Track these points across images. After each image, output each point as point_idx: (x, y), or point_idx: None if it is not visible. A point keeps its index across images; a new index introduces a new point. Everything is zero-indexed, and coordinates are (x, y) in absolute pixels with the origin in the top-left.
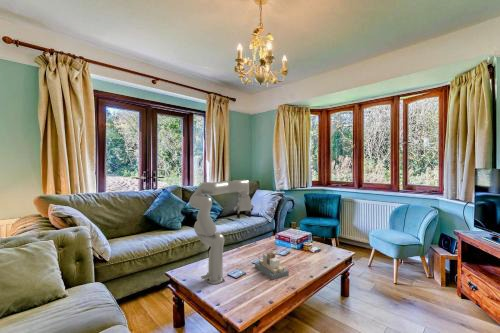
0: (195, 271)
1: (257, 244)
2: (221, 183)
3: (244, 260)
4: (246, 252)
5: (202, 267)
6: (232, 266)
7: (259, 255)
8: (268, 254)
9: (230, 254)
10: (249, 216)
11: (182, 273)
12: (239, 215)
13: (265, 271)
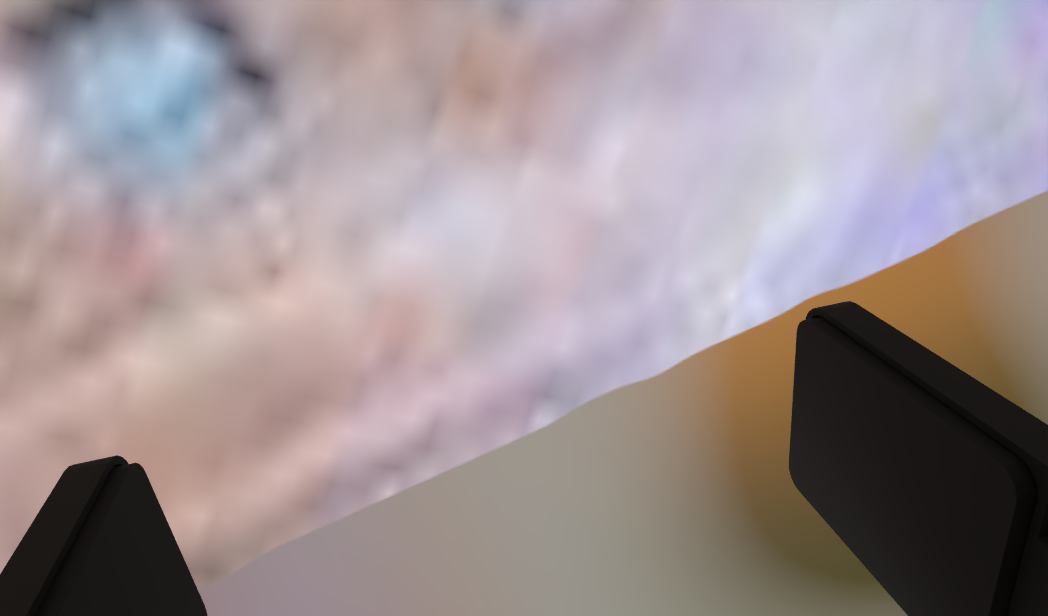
0: (919, 104)
1: None
2: None
3: (353, 195)
4: (261, 407)
5: (833, 171)
6: (546, 80)
7: (102, 282)
8: None
9: (467, 397)
10: (145, 511)
11: (1024, 106)
12: (938, 385)
13: None
